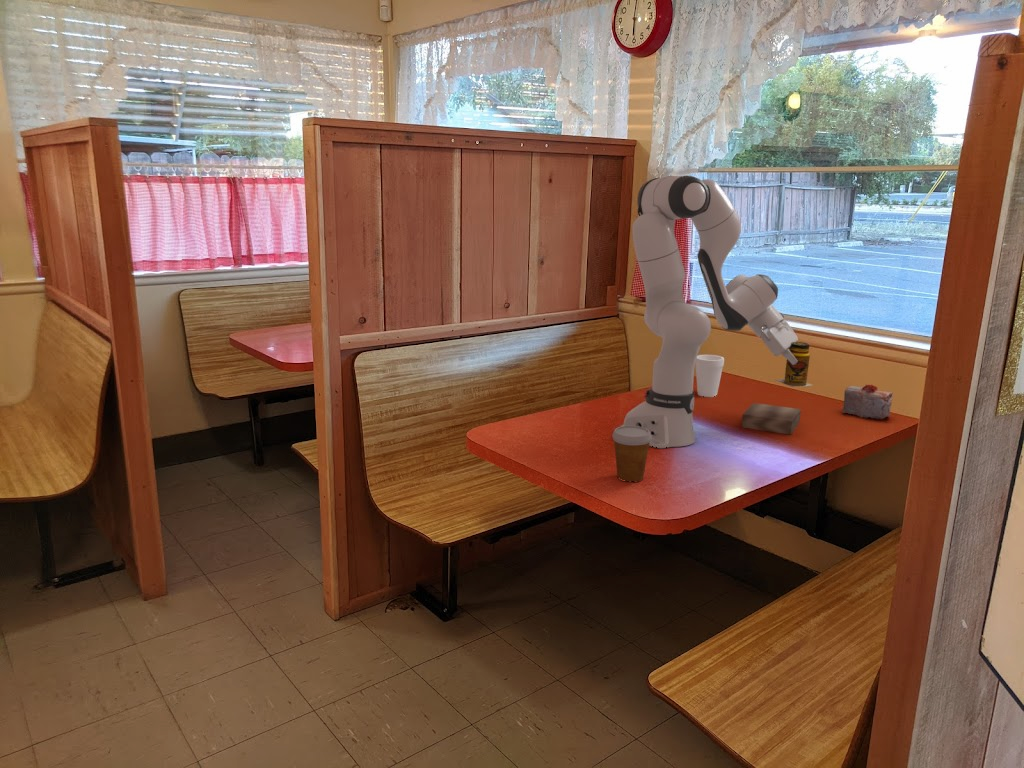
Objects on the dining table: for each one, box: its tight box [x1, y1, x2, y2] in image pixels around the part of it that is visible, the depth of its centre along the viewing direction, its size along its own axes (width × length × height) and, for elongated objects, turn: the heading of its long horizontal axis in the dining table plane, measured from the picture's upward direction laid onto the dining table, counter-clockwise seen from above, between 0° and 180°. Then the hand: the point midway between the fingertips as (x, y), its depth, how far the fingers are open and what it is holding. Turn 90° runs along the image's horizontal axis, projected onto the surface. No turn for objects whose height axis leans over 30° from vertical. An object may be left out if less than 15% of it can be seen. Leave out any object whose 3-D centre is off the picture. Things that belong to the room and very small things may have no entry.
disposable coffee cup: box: [611, 425, 652, 483], centre depth 182 cm, size 10×10×12 cm
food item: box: [842, 384, 894, 420], centre depth 232 cm, size 14×8×10 cm, turn 52°
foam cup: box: [695, 354, 725, 398], centre depth 255 cm, size 10×9×13 cm
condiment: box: [775, 341, 812, 388], centre depth 217 cm, size 7×8×12 cm
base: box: [741, 402, 802, 436], centre depth 224 cm, size 14×14×4 cm
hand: (798, 360), depth 216 cm, fingers closed on condiment, 6 cm apart
